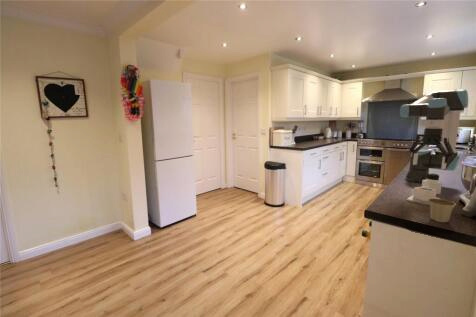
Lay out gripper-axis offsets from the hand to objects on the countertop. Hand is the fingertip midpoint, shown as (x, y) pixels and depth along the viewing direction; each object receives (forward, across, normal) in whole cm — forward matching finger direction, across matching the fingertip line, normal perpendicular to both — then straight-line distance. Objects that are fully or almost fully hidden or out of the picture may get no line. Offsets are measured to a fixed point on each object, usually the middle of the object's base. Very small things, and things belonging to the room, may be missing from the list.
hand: (428, 166), depth 128 cm
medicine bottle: (+20, -6, +20) cm, 29 cm away
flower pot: (+19, +18, -24) cm, 35 cm away
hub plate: (+20, 0, 0) cm, 20 cm away
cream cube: (+18, 0, -1) cm, 19 cm away
